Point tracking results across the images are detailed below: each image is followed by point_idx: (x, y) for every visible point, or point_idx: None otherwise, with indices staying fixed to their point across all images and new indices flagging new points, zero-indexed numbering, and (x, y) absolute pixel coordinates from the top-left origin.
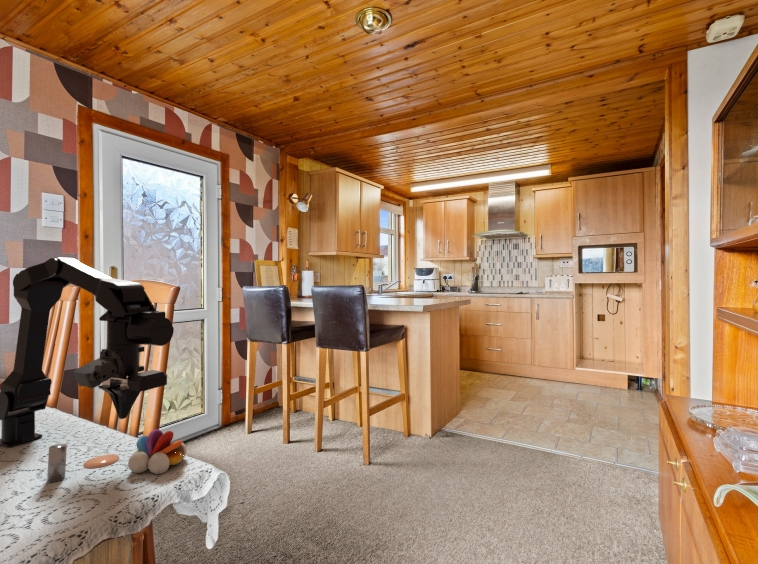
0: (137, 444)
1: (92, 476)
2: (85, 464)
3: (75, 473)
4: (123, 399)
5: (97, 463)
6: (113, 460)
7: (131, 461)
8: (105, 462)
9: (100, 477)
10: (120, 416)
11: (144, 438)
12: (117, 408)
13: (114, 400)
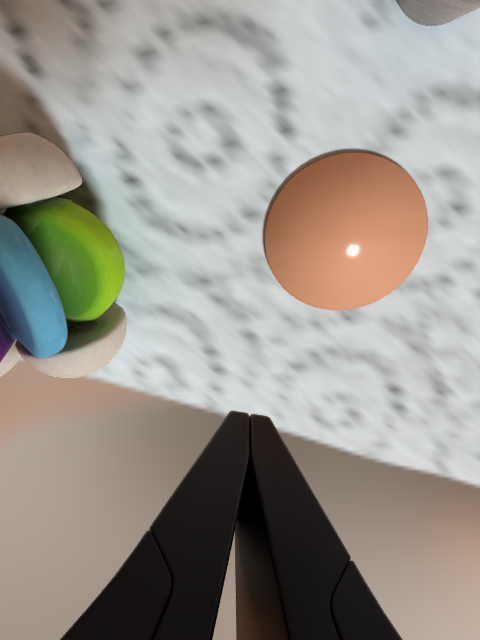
0: (9, 238)
1: (243, 66)
2: (401, 182)
3: (377, 75)
4: (78, 628)
5: (343, 208)
6: (284, 254)
7: (2, 138)
8: (307, 226)
9: (186, 66)
10: (242, 425)
11: (20, 308)
12: (266, 490)
13: (316, 605)
